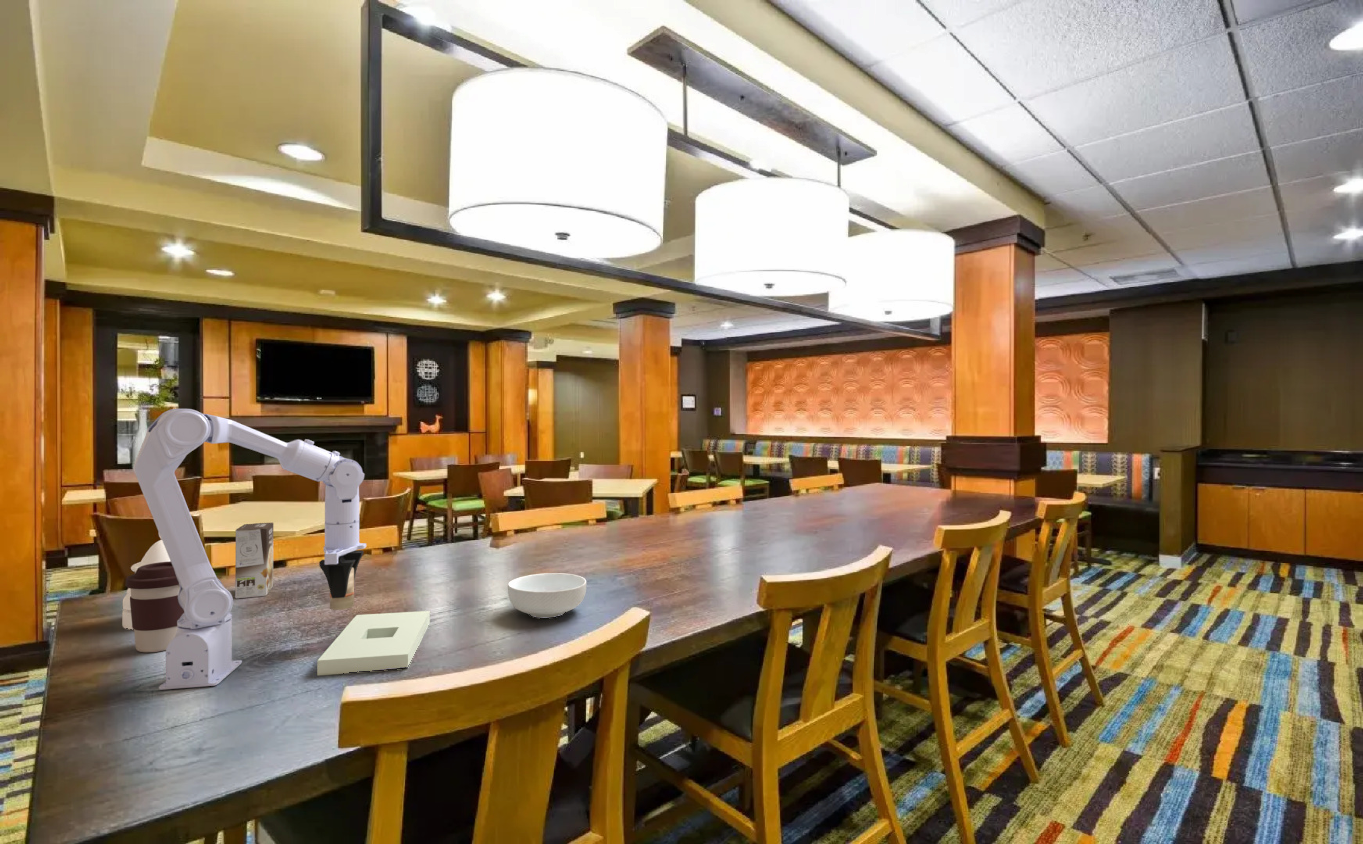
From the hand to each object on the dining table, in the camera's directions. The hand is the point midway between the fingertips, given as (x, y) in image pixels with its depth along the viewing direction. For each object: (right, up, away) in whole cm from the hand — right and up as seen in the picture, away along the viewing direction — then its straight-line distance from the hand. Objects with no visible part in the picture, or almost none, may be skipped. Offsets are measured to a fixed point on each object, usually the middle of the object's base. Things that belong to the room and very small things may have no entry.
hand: (342, 593), depth 118 cm
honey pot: (-44, -9, +13) cm, 47 cm away
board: (+7, -10, -1) cm, 12 cm away
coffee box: (-39, -9, +33) cm, 51 cm away
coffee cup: (-32, -9, -2) cm, 34 cm away
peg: (0, -2, 0) cm, 2 cm away
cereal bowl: (+34, -10, +20) cm, 41 cm away
